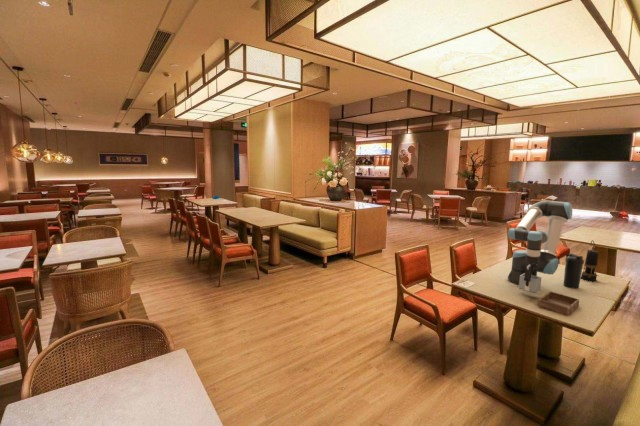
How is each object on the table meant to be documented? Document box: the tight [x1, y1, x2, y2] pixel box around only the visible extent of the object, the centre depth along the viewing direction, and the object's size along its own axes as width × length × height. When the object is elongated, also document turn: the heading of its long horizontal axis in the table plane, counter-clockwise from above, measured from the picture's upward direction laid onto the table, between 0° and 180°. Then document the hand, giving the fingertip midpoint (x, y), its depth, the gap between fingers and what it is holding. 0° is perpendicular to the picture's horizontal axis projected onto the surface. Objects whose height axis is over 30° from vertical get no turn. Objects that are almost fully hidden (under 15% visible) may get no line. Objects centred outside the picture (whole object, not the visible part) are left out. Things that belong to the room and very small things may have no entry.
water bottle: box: [563, 253, 585, 289], centre depth 219 cm, size 10×10×23 cm
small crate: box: [518, 273, 542, 294], centre depth 204 cm, size 7×10×9 cm
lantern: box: [580, 240, 600, 283], centre depth 231 cm, size 9×9×30 cm
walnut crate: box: [537, 291, 580, 317], centre depth 190 cm, size 20×15×4 cm
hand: (529, 288), depth 205 cm, fingers closed on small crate, 7 cm apart
